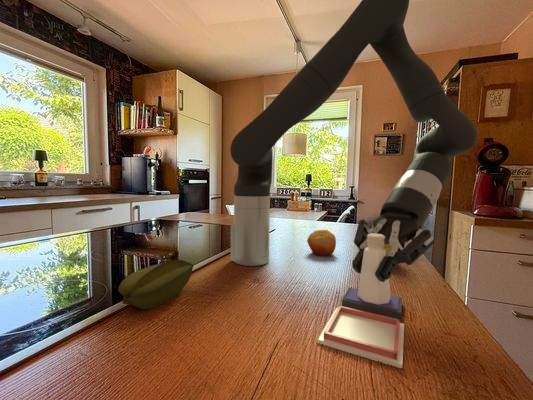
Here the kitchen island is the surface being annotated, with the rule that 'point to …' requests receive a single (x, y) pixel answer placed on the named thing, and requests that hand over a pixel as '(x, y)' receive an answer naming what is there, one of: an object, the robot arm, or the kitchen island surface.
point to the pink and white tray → (365, 335)
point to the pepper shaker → (373, 272)
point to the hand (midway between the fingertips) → (367, 274)
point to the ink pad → (373, 305)
